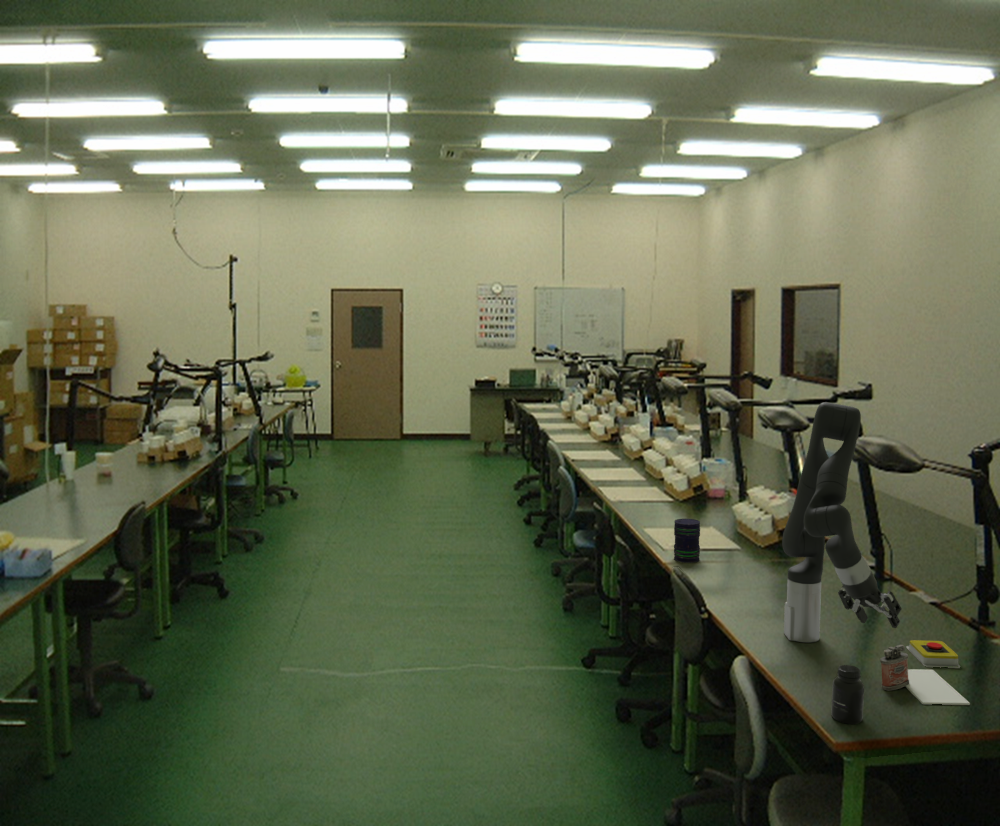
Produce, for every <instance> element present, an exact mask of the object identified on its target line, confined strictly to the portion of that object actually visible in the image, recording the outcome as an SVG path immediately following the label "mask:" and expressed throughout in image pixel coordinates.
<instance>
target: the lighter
mask: <svg viewBox="0 0 1000 826" xmlns="http://www.w3.org/2000/svg"><path fill="white" fill-rule="evenodd" d="M905 648H906V646H905V645H904V644H898V645H895V646H894V647H893V646H888V648H887V649H884V650H883V652H884V653H883V654H884V656H882V657H880V658H879V660H880V661H879V662H880V664H881V668H880V669H881V685H880V686H881V689H882V690H884V691H895V690H898V689H902V688H904V687H905V686H907V685H908V684H909V679H908V669H909V668H908V659H909V654H908V653H906V652H904V651H905Z"/></svg>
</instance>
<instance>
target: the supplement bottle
mask: <svg viewBox="0 0 1000 826" xmlns="http://www.w3.org/2000/svg"><path fill="white" fill-rule="evenodd" d="M831 691H832V693H831V710H830V712H831V713H830V714H831V717H832V718H833V719H834V720H835V721H837V722H840V723H841V724H847V725H857V724H859V723H860V724H861V722H862V721H863V718H864V703H865V701H864V700H865V684H864V683H863V681H862V680H861V669H860V668H859V667H857V666H854V665H851V664H840V665H838V668H837V676H836V677H834V679H833V680H832V690H831Z"/></svg>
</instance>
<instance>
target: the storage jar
mask: <svg viewBox="0 0 1000 826" xmlns="http://www.w3.org/2000/svg"><path fill="white" fill-rule="evenodd" d="M700 524H701V521H700V520H698V519H695V518H677V519H675V520H674V525H673V534H674V544H673V555H674V556H673V560H674V561H676V562H679V563H684V564H685V563H688V564H689V563H690V564H691V563H697V562H699V561H700V553H701V546H700V536H701V525H700Z"/></svg>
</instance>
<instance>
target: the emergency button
mask: <svg viewBox="0 0 1000 826" xmlns="http://www.w3.org/2000/svg"><path fill="white" fill-rule="evenodd" d="M905 648H906V649H907V650H908V651H909V652H910V653H911V654H912V655H913V656H914V657H915V658H916V659H917V660H918V661H919V662H920V663H921V664H922V665H923V667H925V666H926V668H933V667H940V668H941V667H945V666H947V667H948V668H947V669H961V668H960V667H961V665H960V664H959V655H958V654H957V653H956V652H955V651H954V650H953V649H952V648H951V647H950V646H948V644H946V643H945V642H944V641H941V640H923V639H922V640H921V639H919V640H918V639H916V640H915V639H911V640H909V645H906V646H905ZM949 666H953V667H949ZM956 666H958V667H956Z"/></svg>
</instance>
